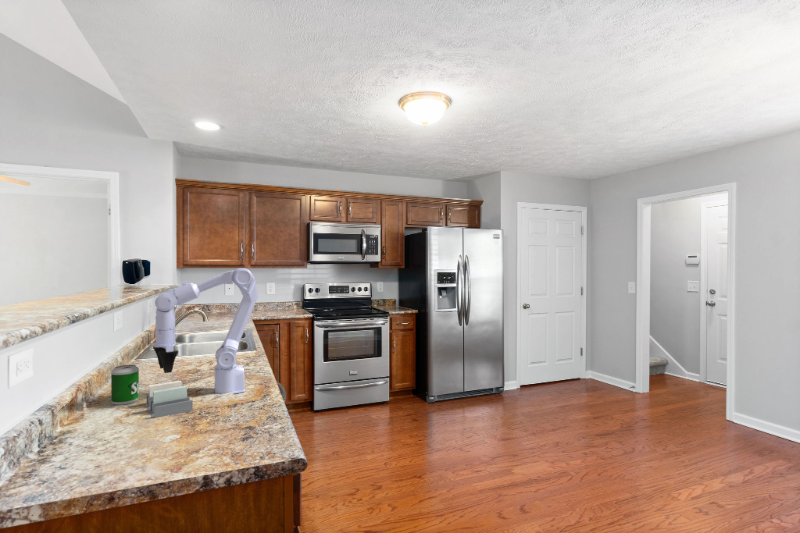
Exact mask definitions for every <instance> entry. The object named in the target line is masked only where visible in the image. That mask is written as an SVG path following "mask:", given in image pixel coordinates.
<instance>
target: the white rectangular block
mask: <svg viewBox="0 0 800 533" xmlns="http://www.w3.org/2000/svg"><path fill="white" fill-rule="evenodd" d="M181 386H183V382H182V381H181V380H175V381H169V382H163V383H155V384H149V385H148V394H149V397H153V391H157V390H163V389H169V388H175V387H181Z"/></svg>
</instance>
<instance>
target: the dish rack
mask: <svg viewBox="0 0 800 533" xmlns="http://www.w3.org/2000/svg"><path fill="white" fill-rule="evenodd" d="M190 398H191V397H190V396H187V397H186V398H181V399H175V400H169V401H164V402H158V403H153V397H149V393H146V403H145V404H144V405H145V408H146V409H147V411H148V413H149V414H150V416H151V418H152V419H158V418H163V417H168V416H173V415H178V414H183V413H187V412H188V413H189V412H192V411H195V409H194V407H193V405H194V404H193V399H190Z"/></svg>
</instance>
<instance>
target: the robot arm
mask: <svg viewBox="0 0 800 533" xmlns="http://www.w3.org/2000/svg"><path fill="white" fill-rule="evenodd" d="M233 283H234V285H235V286H236V287H238V288H239V291H240V292H241V295H242V298H241V300H240V304H239V306H238V308H237V311H236V313H235V315H234V318H233V320H232V323H231V325H230V327H229V330H228V332H227V334H226V337H225V339H224V340H223V341H222V344H221V346H220V347H219V348H218V349H217V350H216V352H215V359H216V360H215V361H216V365H214V393H216V394H231V393H232V394H233V395H235V394H239V393H240V394H241V393H245V392H246V390H245V369H244V366H243V365H242V364H241V365H240V364H239V365H238V364H237V363H236V361H237V353H238V349H239V346H240V345H239V344H240V342H241V339H242V337H243V335H244V331H245V329H246V327H247V324H248V322H249V319H250V317H251V315H252V313H253V310H254V308H255V305H256V302H257V300H258V298H259V292H258V287H257V282H256V277H255V276H254V275H253V273H252V271H250V270H249V269H248V268H243V267H238V268H236V269H235V270H233V269H231V270H228V271H224V272H222V273H221V272H220V273H219V274H216V275H215V276H212V277H210V278H207V279H204V280H203V281H201V282H198V283H197V284H196V283H192V282H188V283H187V282H184V283H182V285H180V286H178V287H175V288H174V289H171V288H170V289H167V292H163V293H161V294H159V295H158V296H156V298H155V300H154V306H155V307H156V309H155V314H156V315H155V342H154V343H151V346H152V347H153V351H155V354H156V356H157V361H158V365H159V369H163V370H162V371H163V373H164V374H167V373H172V372H173V369H174V364H175V360H176V357H177V356H178V354H179V350H174V347H175V346H176V345H177V341H176V314H175V307H176V306H181V305H184V304H187V303H188V302H191V301H193V300H195V299H198V298H199V296H200V293H202V292H205V291H207V290H210V289H213V288H215V287H218V286H221V285H223V284H225V285H233Z"/></svg>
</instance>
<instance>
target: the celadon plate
mask: <svg viewBox="0 0 800 533" xmlns="http://www.w3.org/2000/svg"><path fill="white" fill-rule="evenodd" d="M186 397H188V387H187V385H182V386H181V387H175V388H169V389H163V390H157V391H153V403H158V402H164V401H169V400H175V399H181V398H186Z"/></svg>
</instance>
